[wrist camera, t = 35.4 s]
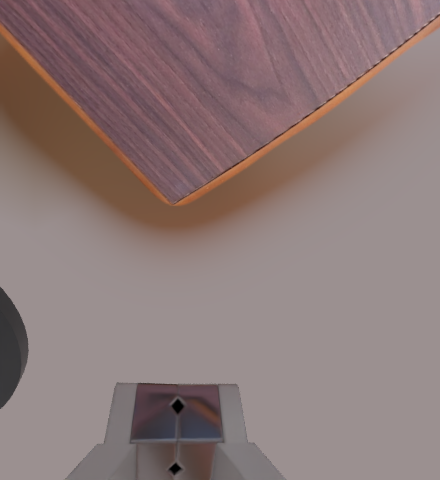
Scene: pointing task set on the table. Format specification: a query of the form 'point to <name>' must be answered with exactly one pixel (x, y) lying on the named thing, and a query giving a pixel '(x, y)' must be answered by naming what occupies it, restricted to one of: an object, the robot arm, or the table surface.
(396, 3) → the table surface
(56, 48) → the table surface
